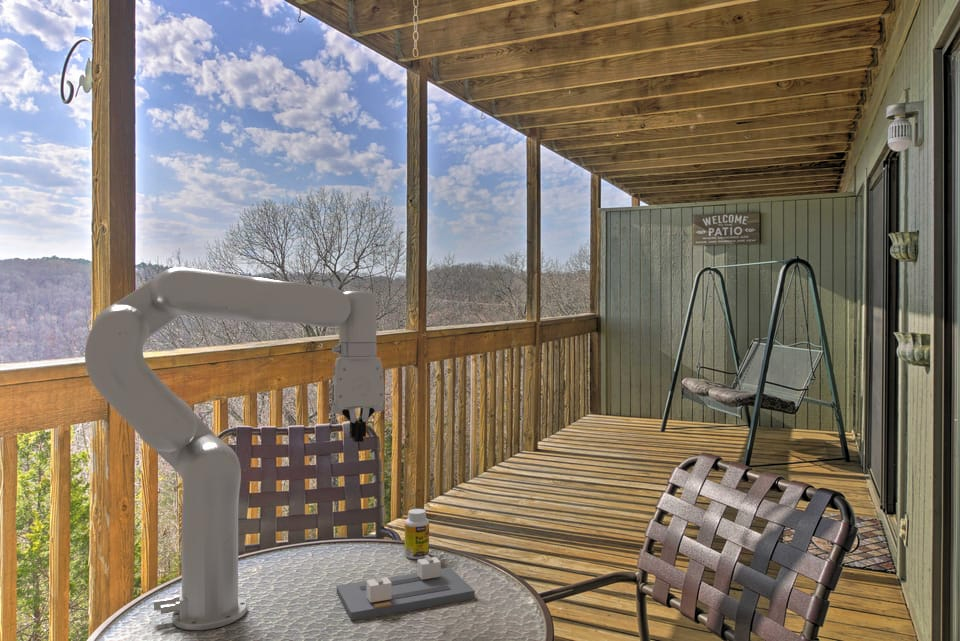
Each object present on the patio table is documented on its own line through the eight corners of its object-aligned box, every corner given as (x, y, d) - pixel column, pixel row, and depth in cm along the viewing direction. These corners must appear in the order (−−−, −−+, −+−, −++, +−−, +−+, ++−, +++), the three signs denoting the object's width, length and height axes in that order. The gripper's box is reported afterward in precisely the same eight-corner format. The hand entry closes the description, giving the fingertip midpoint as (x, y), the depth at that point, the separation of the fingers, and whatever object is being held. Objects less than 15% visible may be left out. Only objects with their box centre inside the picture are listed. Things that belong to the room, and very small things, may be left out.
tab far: (421, 579, 131) (421, 561, 131) (417, 574, 134) (417, 556, 134) (440, 576, 133) (440, 558, 133) (435, 571, 135) (435, 554, 135)
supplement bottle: (414, 562, 146) (414, 516, 146) (399, 555, 150) (399, 510, 150) (434, 555, 150) (434, 511, 150) (418, 549, 154) (419, 506, 154)
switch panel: (351, 621, 117) (351, 612, 117) (336, 593, 129) (336, 585, 129) (474, 598, 127) (474, 590, 127) (450, 574, 139) (450, 567, 139)
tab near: (370, 602, 120) (370, 583, 120) (366, 596, 123) (366, 577, 123) (391, 599, 122) (391, 579, 122) (387, 592, 125) (387, 573, 125)
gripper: (324, 352, 128) (324, 447, 128) (398, 351, 134) (398, 441, 134) (317, 351, 135) (317, 440, 135) (388, 350, 141) (388, 435, 141)
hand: (357, 440), depth 134 cm, fingers closed
